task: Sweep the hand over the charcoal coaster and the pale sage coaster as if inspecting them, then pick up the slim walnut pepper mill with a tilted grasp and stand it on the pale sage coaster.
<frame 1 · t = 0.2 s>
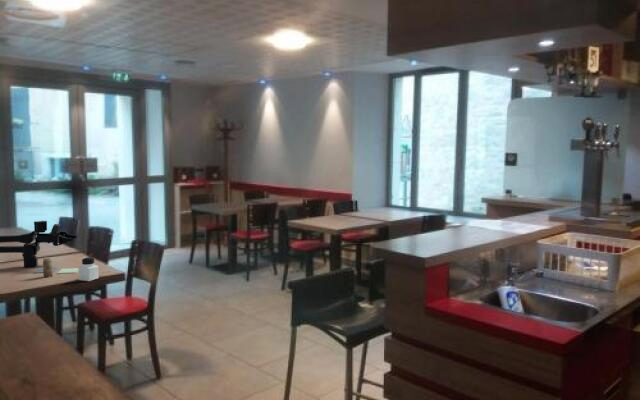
hand: (74, 238, 305), 16 cm above the table, tool horizontal, fingers open, 9 cm apart
sage coaster: (69, 271, 290), on the table
medicine bottle: (88, 279, 272), on the table
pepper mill: (48, 276, 277), on the table
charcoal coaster: (45, 270, 291), on the table
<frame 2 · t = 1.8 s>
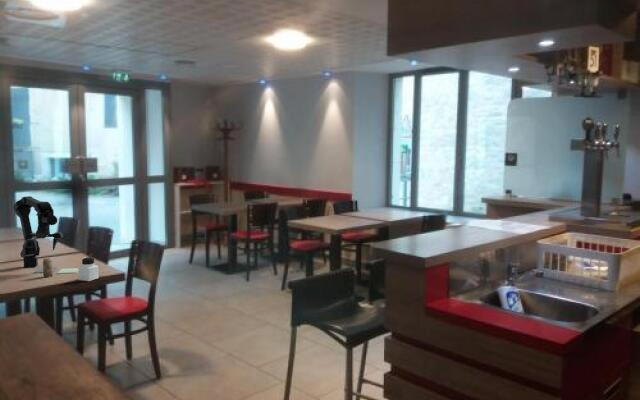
hand: (44, 250, 289), 12 cm above the table, tool pointing down, fingers open, 9 cm apart
nothing on the table moved.
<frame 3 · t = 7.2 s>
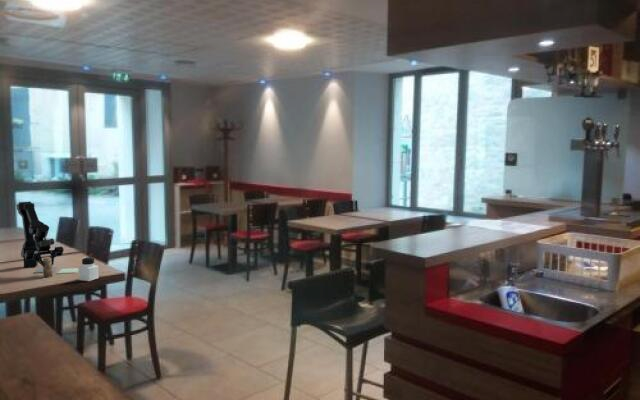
hand: (48, 265, 276), 7 cm above the table, tool tilted 45°, fingers closed on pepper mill, 4 cm apart
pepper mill: (48, 276, 277), on the table, touching gripper
everything else where it was.
when the fingers open (8 cm above the table, at t = 10.2 s): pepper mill stays where it is, resting on sage coaster.
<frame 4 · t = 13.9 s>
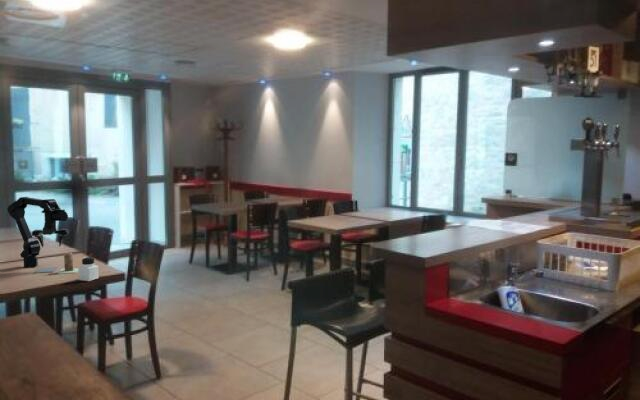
hand: (51, 246, 296), 13 cm above the table, tool pointing down, fingers open, 9 cm apart
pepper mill: (69, 270, 289), point 1 cm above the table, touching sage coaster
everything else where it was.
at the end: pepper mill inside the target area on the sage coaster (0.1 cm from its centre), point 0.6 cm above the sage coaster's base; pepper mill tilted 1°; the gripper is holding nothing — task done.
